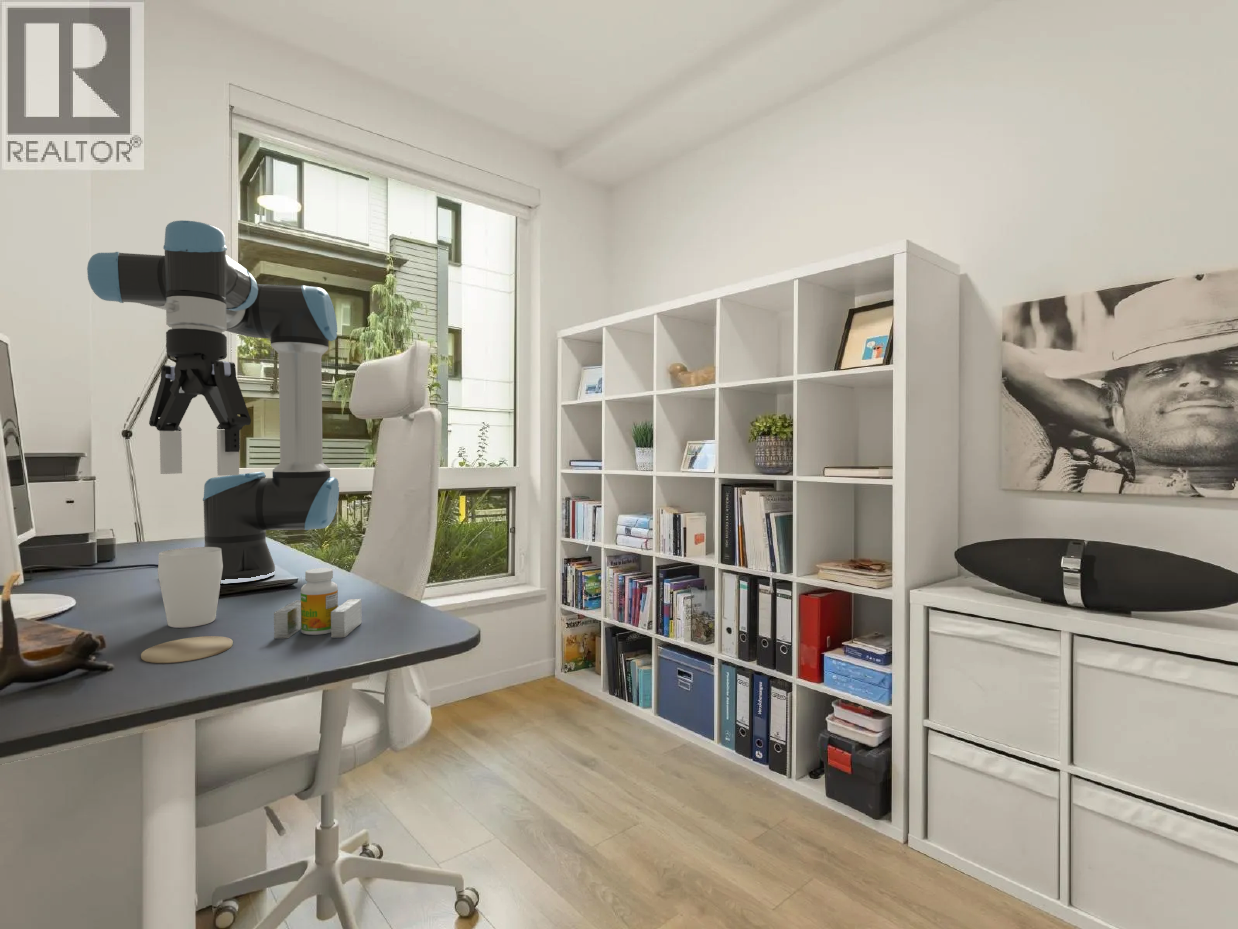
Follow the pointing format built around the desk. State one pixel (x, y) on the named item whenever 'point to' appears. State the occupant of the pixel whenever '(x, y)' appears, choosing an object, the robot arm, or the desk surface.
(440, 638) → the desk surface
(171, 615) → the cup
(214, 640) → the coaster
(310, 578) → the supplement bottle
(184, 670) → the desk surface
